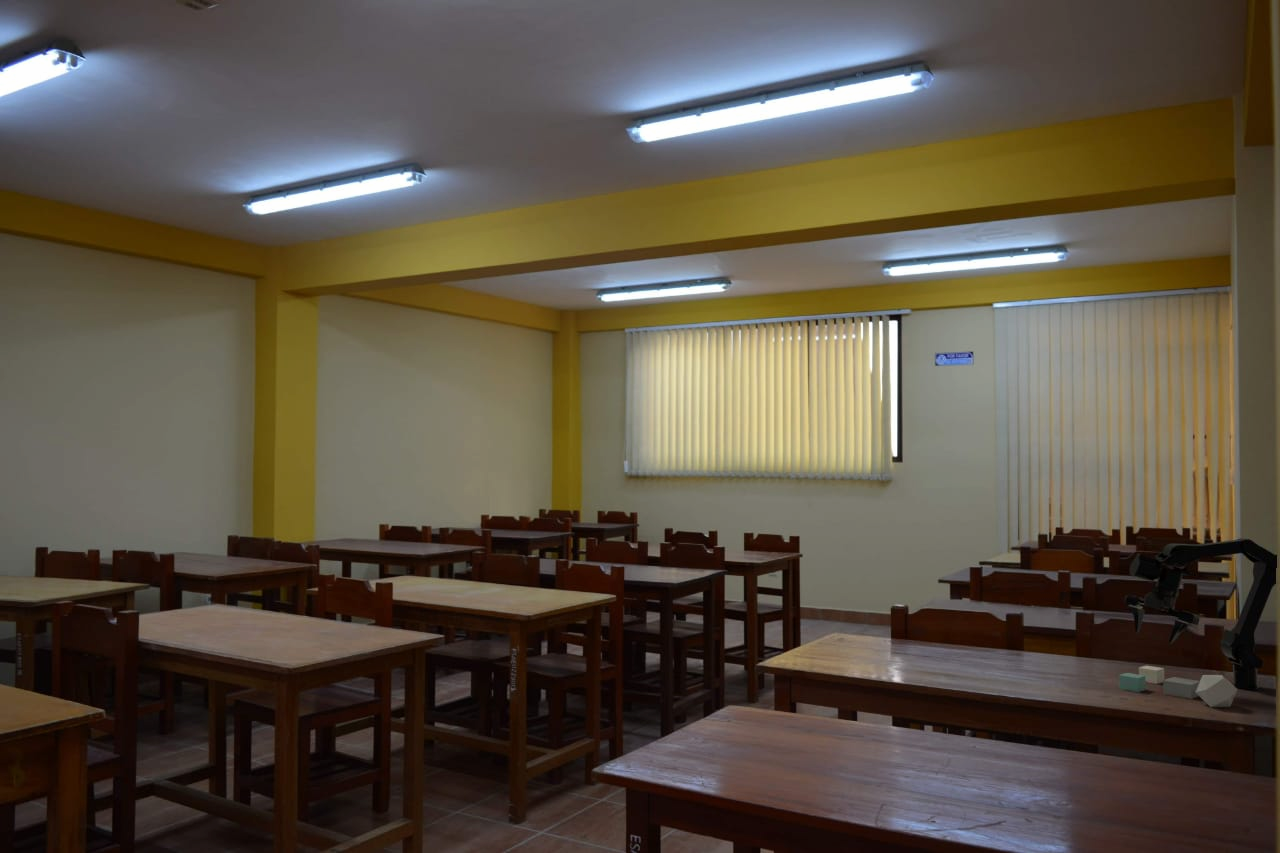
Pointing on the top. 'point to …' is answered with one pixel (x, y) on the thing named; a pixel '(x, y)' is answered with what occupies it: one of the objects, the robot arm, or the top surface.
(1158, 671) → the cream brick
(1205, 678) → the die
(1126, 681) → the teal brick
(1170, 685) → the base block
